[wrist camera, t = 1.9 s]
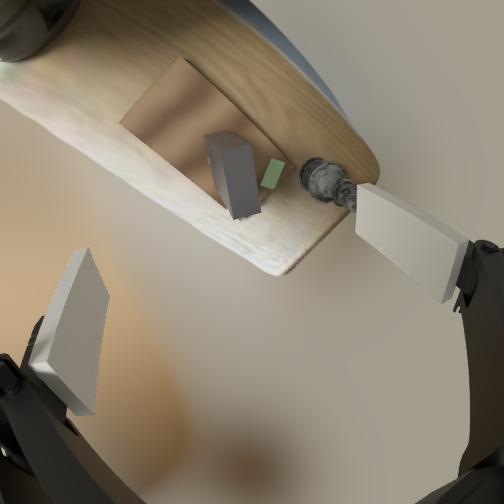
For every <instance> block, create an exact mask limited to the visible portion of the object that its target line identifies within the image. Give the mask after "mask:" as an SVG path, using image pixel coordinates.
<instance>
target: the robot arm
mask: <svg viewBox="0 0 504 504" xmlns="http://www.w3.org/2000/svg"><path fill="white" fill-rule="evenodd" d="M80 1H81V0H0V62H15V61H20V60H23V59H25V58H28V57H30V56H32V55H34V54H35V53H37V52H39V51H40V50H42V49H43V48H44V47H46V46H47V45H48V44H49V43H50V42H52V41H53V40H54V39H55V38H56V37H57V36H58V35H59V34H60V33H61V32H62V30H63V29H64V28H65V27H66V26H67V24H68V23H69V21H70V20H71V19H72V17H73V15H74V14H75V12H76V10H77V8H78V6H79V4H80ZM356 234H357V235H359V236H360V237H362V238H363V239H364V240H365V241H367V242H368V243H369V244H370V245H371V246H373V247H374V248H375V249H377V250H378V251H379V252H380V253H382V254H383V255H384V256H385V257H386V258H388V259H389V260H390V261H391V262H392V263H394V264H395V265H396V266H397V267H398V268H400V269H401V270H402V271H404V273H406V274H407V275H408V276H409V277H410V278H411V279H413V280H414V281H415V282H416V283H417V284H418V285H420V286H421V287H422V288H423V289H424V290H425V291H426V292H427V293H429V294H430V295H431V296H432V297H433V298H434V299H435V300H436V301H437V302H438V303H440V304H442V303H444V302H446V301H447V300H449V299H451V298H452V296H453V293H454V290H455V287H456V286H457V287H458V288H459V289H461V290H460V293H459V295H458V298H457V301H456V303H455V306H454V309H453V312H456V310H457V307H458V306H460V310H459V313H462V320H463V326H464V333H465V340H466V348H467V357H468V369H469V385H470V436H469V443H468V446H467V448H466V450H465V452H464V453H463V455H462V459H461V461H460V466H459V472H458V478H457V479H456V480H454V481H452V482H451V483H448V484H447V485H445V486H443V487H441V488H439V489H437V490H435V491H433V492H431V493H430V494H429V495H427V496H426V497H424V498H423V499H421V500H420V501H418V502H417V503H415V504H504V248H499V247H498V246H497V245H495V244H494V243H492V242H490V241H486V240H477V241H476V242H475V243H473V242H471V241H470V240H469V239H468V238H466V237H465V236H463V235H462V234H460V233H459V232H457V231H455V230H454V229H452V228H451V227H449V226H447V225H446V224H444V223H442V222H441V221H439V220H437V219H435V218H434V217H432V216H430V215H429V214H427V213H425V212H423V211H422V210H420V209H418V208H416V207H414V206H412V205H411V204H409V203H407V202H405V201H403V200H402V199H400V198H398V197H396V196H394V195H392V194H390V193H388V192H386V191H384V190H382V189H380V188H378V187H376V186H374V185H372V184H370V183H365V184H359V185H357V212H356ZM109 297H110V295H109V294H108V291H107V289H106V287H105V285H104V283H103V280H102V278H101V276H100V274H99V271H98V269H97V267H96V265H95V262H94V260H93V257H92V255H91V253H90V250H89V248H88V247H87V248H84V249H81V250H77V251H74V253H73V255H72V257H71V259H70V261H69V263H68V265H67V267H66V269H65V271H64V273H63V275H62V277H61V280H60V282H59V284H58V286H57V288H56V291H55V293H54V295H53V297H52V300H51V302H50V305H49V307H48V309H47V312H46V314H45V316H42V317H41V318H40V320H39V321H38V322H37V324H36V325H35V327H34V329H33V332H32V334H31V338H30V340H29V342H28V346H27V348H26V351H25V354H24V357H23V360H22V363H21V366H20V368H19V367H18V366H17V365H16V364H15V362H14V361H13V360H12V359H11V357H10V356H9V355H8V354H5V353H4V354H0V504H146V503H145V502H144V501H143V500H142V499H140V498H139V497H138V496H137V495H136V494H135V493H134V492H133V491H132V490H131V489H130V488H129V487H128V486H127V485H126V484H124V482H123V481H122V480H121V479H120V478H119V477H118V476H117V475H116V474H115V473H114V472H113V471H112V470H111V469H110V468H109V467H108V466H107V464H106V463H105V462H104V461H103V460H102V459H101V458H100V457H99V455H98V454H97V453H96V452H95V451H94V450H93V449H92V447H91V446H90V445H89V444H88V442H87V441H86V440H85V438H84V437H83V436H82V435H81V433H80V432H79V431H78V429H77V428H76V427H75V426H74V424H73V423H72V421H71V420H70V419H68V418H67V417H66V412H67V407H68V408H69V409H70V410H71V411H72V412H73V413H74V414H75V415H76V416H83V415H94V414H95V400H96V399H95V398H96V386H97V376H98V367H99V359H100V351H101V343H102V337H103V330H104V324H105V318H106V312H107V307H108V302H109ZM1 447H2V448H3V449H4V450H5V453H6V456H4V455H3V453H2V451H1Z"/></svg>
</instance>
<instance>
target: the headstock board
mask: <svg viewBox="0 0 504 504" xmlns="http://www.w3.org/2000/svg"><path fill="white" fill-rule="evenodd" d="M119 123H120V124H121V125H122V126H123V127H125V128H126V129H127V130H129V131H130V132H131V133H132V134H134V135H135V136H136V137H137V138H139V139H140V140H141V141H142V142H144V143H145V144H146V145H147V146H149V147H150V148H151V149H152V150H154V151H155V152H156V153H157V154H159V155H160V156H161V157H162V158H164V159H165V160H166V161H167V162H169V163H170V164H171V165H172V166H174V167H175V168H176V169H177V170H179V171H180V172H181V173H182V174H184V175H185V176H186V177H187V178H188V179H190V180H191V181H192V182H193V183H195V184H196V185H197V186H198V187H200V188H201V189H202V190H203V191H204V192H206V193H207V194H208V195H209V196H211V197H212V198H213V199H214V200H215V201H217V202H218V203H219V204H220V205H222V206H223V207H224V208H225V209H226V210H227V207H226V206H225V204H224V202H223V200H222V198H221V197H220V195H219V193H218V191H217V190H216V188H215V186H214V181H213V177H212V172H211V167H210V164H209V162H208V153H207V148H206V143H205V138H204V135H207V134H211V133H216V132H220V131H225V130H227V131H229V132H230V133H232V134H234V135H236V136H237V137H239V138H241V139H243V140H244V141H246V142H248V143H250V144H251V148H252V154H253V161H254V167H255V174H256V181H257V187H258V194H259V201H261V200H262V199H263V198H264V197H265V196H266V195H267V194H268V193H269V192H270V191H271V190H272V189H270V188H267V187H263V186H260V184H261V181H262V179H263V176H264V174H265V171H266V169H267V166H268V164H269V161H270V159H271V158H273V159H276V160H279V161H282V162H284V163H285V164H284V167H283V169H282V172H281V174H280V177H279V179H278V181H277V184H278V183H279V182H280V181H281V180H282V179H283V178H284V177H285V176H286V175H287V174H288V173H289V172H290V171H291V170H292V169H293V168H294V166H293V165H292V164H291V163H290V162H289V161H288V160H287V159H286V157H285V156H284V155H283V154H282V153H281V152H280V151H279V150H278V149H277V148H276V147H275V146H274V145H273V144H272V142H271V141H270V140H269V139H268V138H267V137H266V136H265V135H264V134H263V133H262V132H261V131H260V130H259V129H258V128H257V127H256V126H255V125H254V124H253V123H252V122H251V121H250V120H249V119H248V118H247V117H246V116H245V115H244V114H243V113H242V112H241V111H240V110H239V109H238V108H237V107H236V106H235V105H234V104H233V103H232V102H231V101H230V100H229V99H228V98H226V97H225V96H224V95H223V94H222V93H221V92H220V91H219V90H218V89H217V88H216V87H215V86H214V85H212V84H211V83H210V82H209V81H208V80H207V79H206V78H205V77H204V76H203V75H201V74H200V73H199V72H198V71H197V70H196V69H195V68H193V67H192V66H191V65H190V64H189V63H188V62H187V61H185V60H184V59H183V58H182V57H181V56H180V57H179V58H178V59H177V60H176V61H175V62H174V63H173V64H172V65H171V66H170V67H169V68H168V69H167V70H166V71H165V72H164V73H163V74H162V75H161V76H160V77H159V78H158V79H157V80H156V81H155V82H154V83H153V84H152V85H151V86H150V87H149V88H148V89H147V90H146V91H145V93H144V94H143V95H142V96H141V97H140V98H139V99H138V100H137V101H136V103H135V104H134V105H133V106H132V107H131V108H130V110H129V111H128V112H127V113H126V114H125V116H124V117H123V118H122V119H121V120H120V122H119ZM277 184H276V185H277ZM243 218H244V217H242V218H239V220H240V221H241V220H242V219H243Z"/></svg>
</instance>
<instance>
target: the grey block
mask: <svg viewBox="0 0 504 504" xmlns="http://www.w3.org/2000/svg"><path fill="white" fill-rule="evenodd" d="M204 138H205V143H206V148H207V153H208V162H209V164H210V167H211V172H212V177H213V181H214V186H215V188H216V190H217V191H218V193H219V195H220V197H221V198H222V200H223V202H224V204H225V206H226V207H227V212H228V214H231V216H232V218H233V220H235V219H239V218H242V217H246V216H250V215H254V214H257V213H261V208H260V201H259V194H258V187H257V181H256V174H255V167H254V161H253V154H252V148H251V144H250V143H248V142H246V141H244V140H243V139H241V138H239V137H237V136H236V135H234V134H232V133H230V132H229V131H227V130H225V131H220V132H216V133H211V134H207V135H204Z"/></svg>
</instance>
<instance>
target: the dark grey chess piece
mask: <svg viewBox="0 0 504 504" xmlns="http://www.w3.org/2000/svg"><path fill="white" fill-rule="evenodd" d="M299 180H300V184H301V186H302V187H303V188H304V189H305V190H306V191H308V192H310V194H311V196H312V197H313V198H314V199H315V200H316V201H318V202H320V203H330V202H334V203H335V204H336V205H338V206H341V207H342V206H344V207H345V208H347V209H348V210H349V211H351V212H354V213H356V212H357V187H356V186H355V184H354V183H353V181H351V180H349V179H347V177H346V173H345V170H344V168H343V167H342V166H341V165H340V164H338V163H336V162H327V161H326V160H325V159H323V158H319V157H317V158H312V159H310V160H308V161H307V162H306V163H305V164H304V165H303V166H302V168H301V170H300V174H299Z"/></svg>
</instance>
